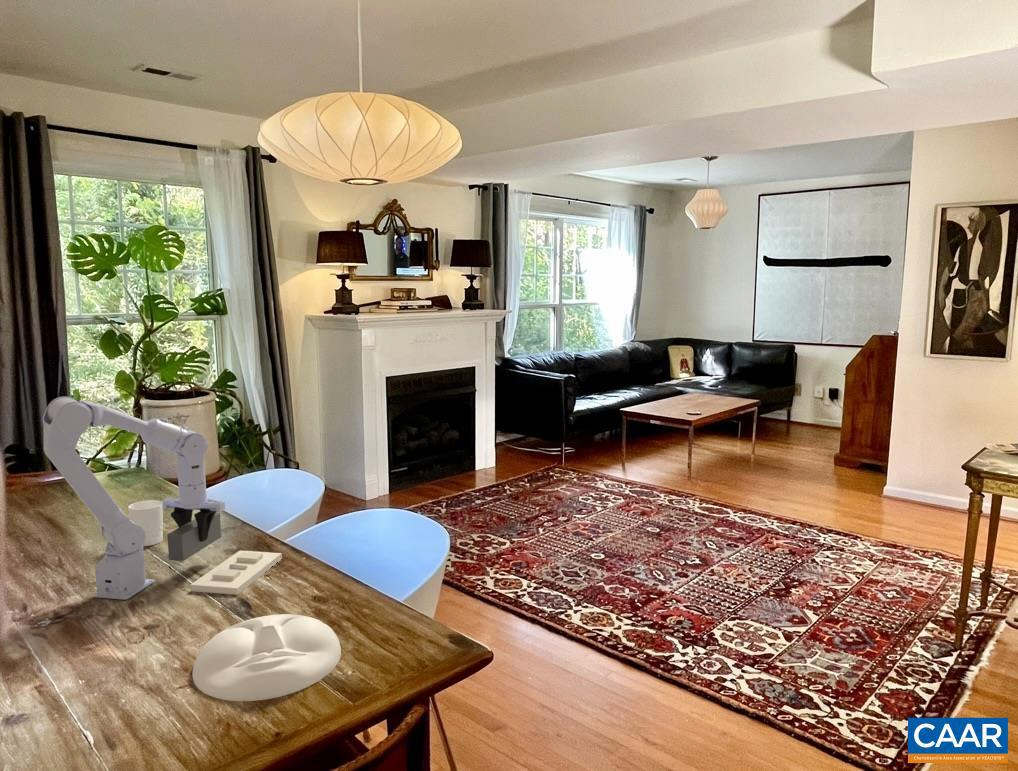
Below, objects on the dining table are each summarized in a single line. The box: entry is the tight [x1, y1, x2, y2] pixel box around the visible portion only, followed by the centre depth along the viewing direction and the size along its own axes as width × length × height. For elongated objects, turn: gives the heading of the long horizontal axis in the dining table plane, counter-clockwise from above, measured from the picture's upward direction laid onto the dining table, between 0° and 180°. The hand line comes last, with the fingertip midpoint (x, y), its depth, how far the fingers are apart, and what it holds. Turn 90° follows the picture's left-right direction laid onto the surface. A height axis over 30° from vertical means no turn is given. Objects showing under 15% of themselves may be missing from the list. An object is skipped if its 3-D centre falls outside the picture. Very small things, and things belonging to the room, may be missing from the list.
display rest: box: [190, 550, 283, 596], centre depth 161 cm, size 20×11×2 cm, turn 171°
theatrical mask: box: [192, 613, 342, 702], centre depth 124 cm, size 25×8×25 cm
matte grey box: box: [166, 512, 222, 562], centre depth 163 cm, size 15×4×6 cm, turn 171°
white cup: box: [127, 499, 164, 547], centre depth 181 cm, size 8×8×10 cm
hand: (195, 539), depth 163 cm, fingers closed on matte grey box, 3 cm apart
